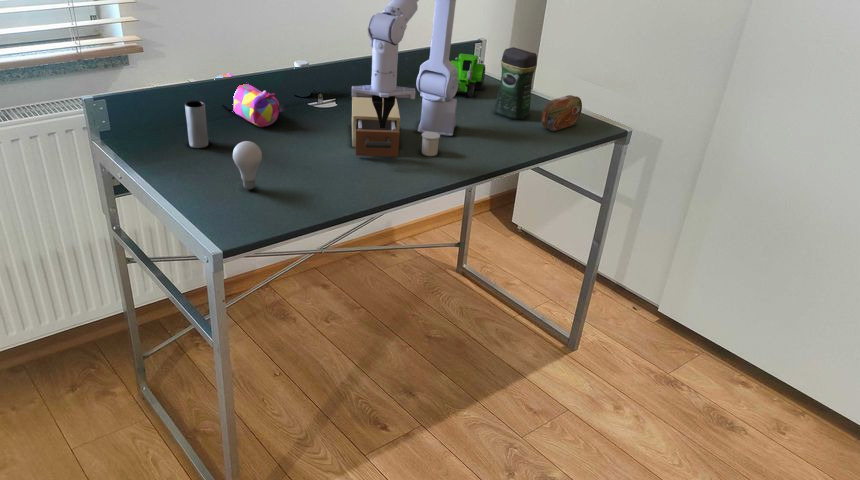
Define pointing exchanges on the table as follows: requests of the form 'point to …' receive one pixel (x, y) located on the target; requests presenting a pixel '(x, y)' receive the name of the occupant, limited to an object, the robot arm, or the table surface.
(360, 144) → the drawer
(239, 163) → the lightbulb
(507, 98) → the coffee jar
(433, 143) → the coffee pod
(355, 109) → the wooden drawer cabinet
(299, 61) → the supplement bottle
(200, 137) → the planter
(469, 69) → the toy tractor
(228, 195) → the table surface
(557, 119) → the tin
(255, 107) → the pencil case
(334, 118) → the table surface
